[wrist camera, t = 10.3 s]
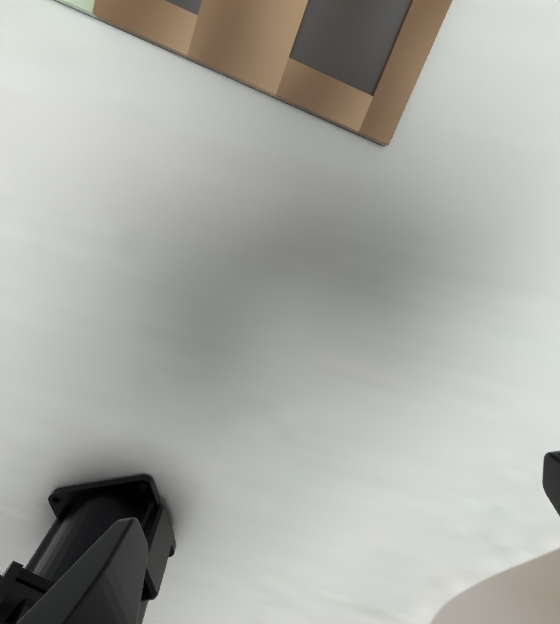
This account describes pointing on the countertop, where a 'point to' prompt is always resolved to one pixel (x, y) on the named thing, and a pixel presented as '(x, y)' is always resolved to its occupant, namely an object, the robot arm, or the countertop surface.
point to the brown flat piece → (297, 49)
